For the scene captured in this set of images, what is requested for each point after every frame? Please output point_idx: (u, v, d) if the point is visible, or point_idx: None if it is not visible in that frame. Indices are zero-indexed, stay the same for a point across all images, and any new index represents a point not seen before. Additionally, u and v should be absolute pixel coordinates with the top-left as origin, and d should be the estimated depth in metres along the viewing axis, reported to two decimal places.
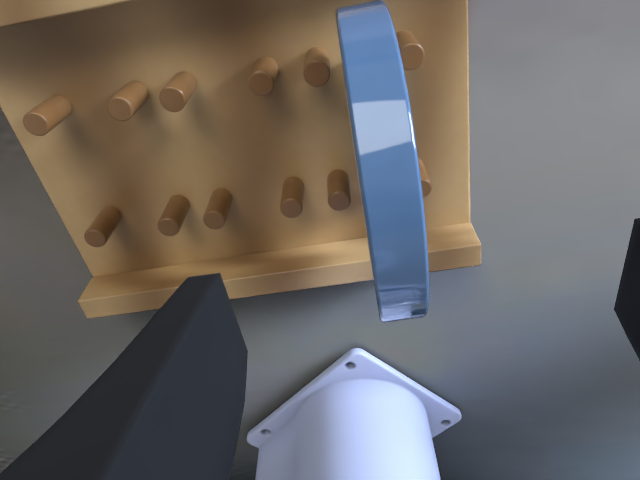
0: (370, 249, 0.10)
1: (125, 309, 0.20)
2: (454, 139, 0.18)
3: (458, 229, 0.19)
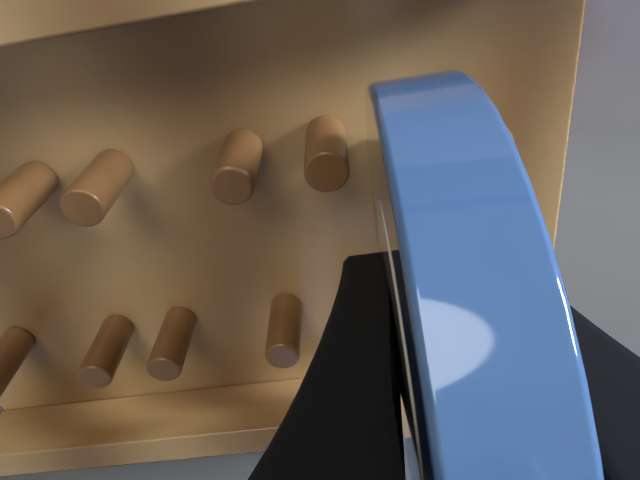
0: None
1: (43, 468, 0.14)
2: None
3: None
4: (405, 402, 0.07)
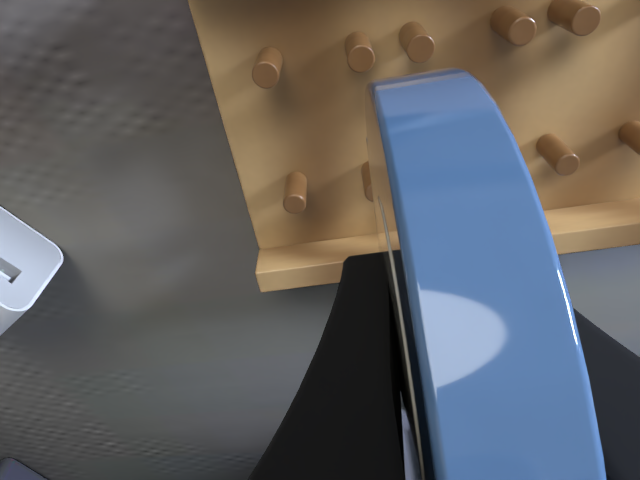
0: None
1: (303, 282, 0.19)
2: None
3: None
4: (405, 401, 0.07)
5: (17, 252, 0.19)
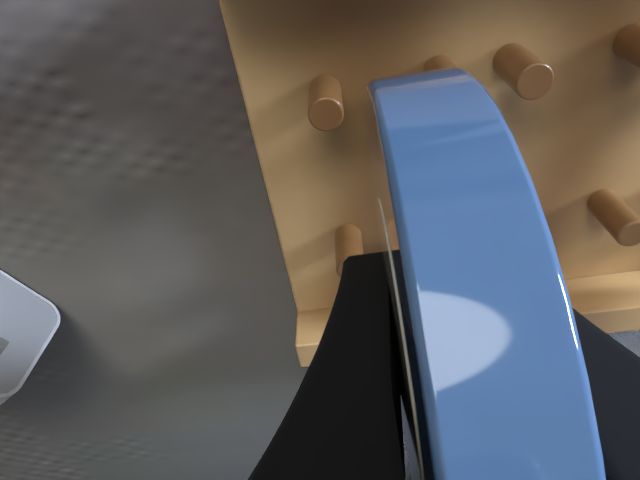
0: None
1: None
2: None
3: None
4: (405, 401, 0.07)
5: (4, 317, 0.16)
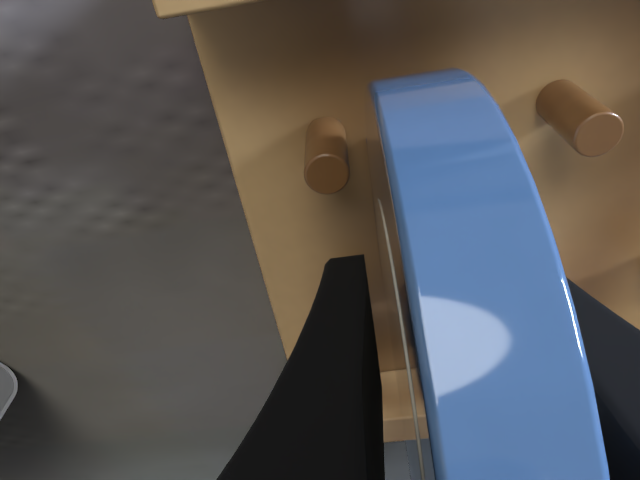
0: None
1: None
2: None
3: None
4: (406, 404, 0.07)
5: None
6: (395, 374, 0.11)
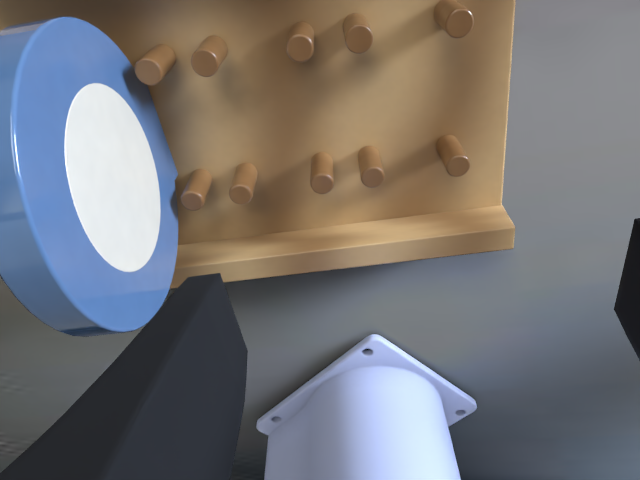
0: None
1: None
2: (492, 116, 0.17)
3: (490, 211, 0.19)
4: None
5: None
6: None
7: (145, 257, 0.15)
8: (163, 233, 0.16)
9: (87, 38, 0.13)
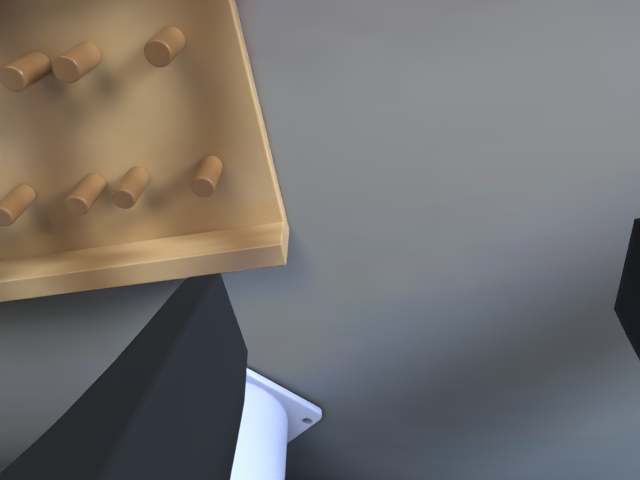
0: None
1: None
2: (248, 137, 0.18)
3: (268, 228, 0.19)
4: None
5: None
6: None
7: None
8: None
9: None
